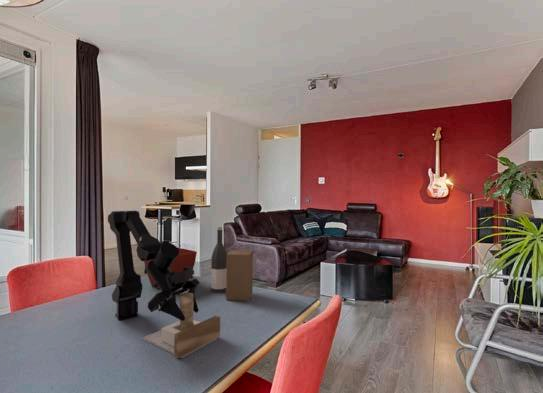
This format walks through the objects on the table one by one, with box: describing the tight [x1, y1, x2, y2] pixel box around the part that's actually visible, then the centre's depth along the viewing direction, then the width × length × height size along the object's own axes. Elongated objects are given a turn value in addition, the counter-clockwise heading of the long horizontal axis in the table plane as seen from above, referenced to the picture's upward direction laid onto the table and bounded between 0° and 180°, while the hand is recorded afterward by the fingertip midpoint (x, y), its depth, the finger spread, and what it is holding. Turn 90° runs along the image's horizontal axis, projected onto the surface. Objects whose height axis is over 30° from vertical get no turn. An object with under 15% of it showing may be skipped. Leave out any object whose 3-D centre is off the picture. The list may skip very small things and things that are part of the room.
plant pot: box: [143, 247, 198, 290], centre depth 150 cm, size 19×19×17 cm
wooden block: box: [225, 249, 254, 302], centre depth 135 cm, size 10×10×20 cm
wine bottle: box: [210, 226, 228, 294], centre depth 144 cm, size 8×8×30 cm
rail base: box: [142, 315, 221, 359], centre depth 95 cm, size 18×16×7 cm
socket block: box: [161, 319, 201, 346], centre depth 94 cm, size 10×10×4 cm
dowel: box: [179, 293, 194, 331], centre depth 94 cm, size 4×4×13 cm
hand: (191, 315), depth 93 cm, fingers open, 6 cm apart
